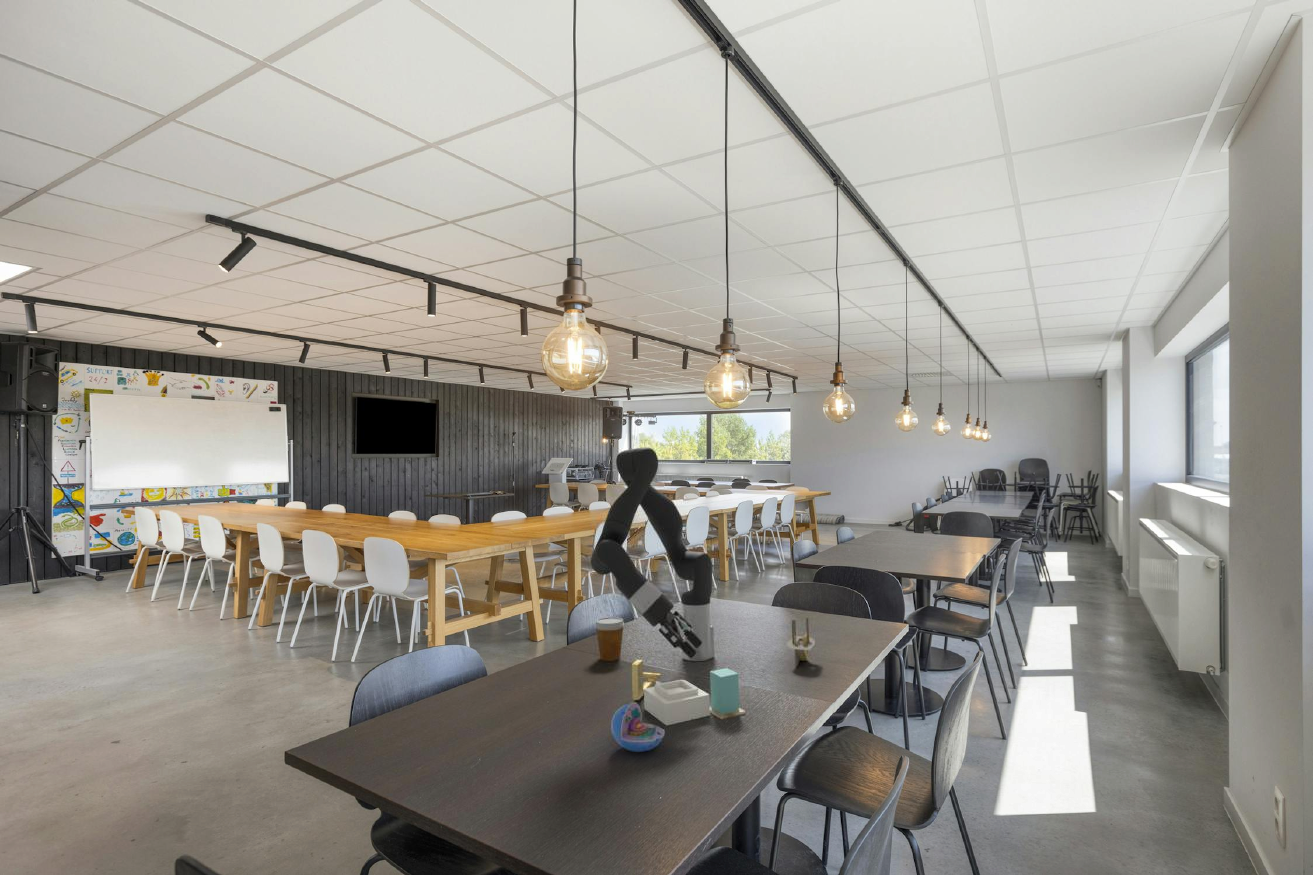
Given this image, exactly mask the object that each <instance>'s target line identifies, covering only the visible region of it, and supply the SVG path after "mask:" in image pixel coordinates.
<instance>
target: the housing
mask: <svg viewBox="0 0 1313 875" xmlns="http://www.w3.org/2000/svg"><path fill="white" fill-rule="evenodd" d="M661 683H662V684H657V685H655V687H650V688H645V689H644V695H643V696H644V697H643V698H644V699H643V700H644V705H643V706H644V710H645V711H647V713H650V714H651V715H652V716H653V717H655V718H656V719H657V720H659V721H660V722H661V723H662V724H664V725H665V726H670V725H675V724H679V723H683V722H688V721H692V719H693V720H696V719H700V718H701V719H702V718H704V717H709V716H711V713H710V706H711V696H710V694H709V693H707V692H706V691H704V690H702V689H700V688H699V687H697V686H696V685H694V684H692V683H690V682H689V681H687V680H684V679H683V678H682V679H677V680H673V681H668V682H661Z"/></svg>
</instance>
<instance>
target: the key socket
mask: <svg viewBox="0 0 1313 875" xmlns="http://www.w3.org/2000/svg"><path fill="white" fill-rule="evenodd" d="M646 682H647V681H643V685H644V684H645V683H646ZM662 683H663V682H661V681H657V680H656V684H655V685H657V684H662ZM655 685H652V686H651V687H655Z"/></svg>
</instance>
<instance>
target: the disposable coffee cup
mask: <svg viewBox="0 0 1313 875" xmlns="http://www.w3.org/2000/svg"><path fill="white" fill-rule="evenodd" d="M624 626H625V622H624V619H623V618H621V617H618V616H617V617H615V616H609V617H607V616H606V617H601V618H598V619H596V620H595V623H594V627H595V629H596V636H597V642H598V648H599V649H598V650H599V655H600V656H599V657H600V660H602V661H604V662H612V661H617V660H620V658H621V653H622V642H623V641H622V640H623V631H624Z"/></svg>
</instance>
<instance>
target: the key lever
mask: <svg viewBox="0 0 1313 875" xmlns="http://www.w3.org/2000/svg"><path fill="white" fill-rule="evenodd" d="M661 675H662V674H661V673H657V672H655V673H654V672H645V671H644V661H643V660H642V659H635V661H634V662H633V663H632V664H631V682H632V683H631V686H632V687H631V688H632V689H631V690H632V700H634V701H639V700H640V699H641V698H643V696H644V689H645V688H650V687H651V686H652V685H655V684H656V681H657V679H659V680H660V679H661V678H662V677H661ZM644 678H646V679H647V681H645V682H646V683H645V684H644V685H643V683H644Z"/></svg>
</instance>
